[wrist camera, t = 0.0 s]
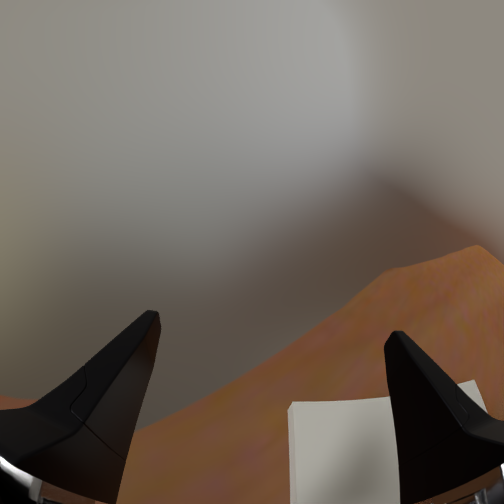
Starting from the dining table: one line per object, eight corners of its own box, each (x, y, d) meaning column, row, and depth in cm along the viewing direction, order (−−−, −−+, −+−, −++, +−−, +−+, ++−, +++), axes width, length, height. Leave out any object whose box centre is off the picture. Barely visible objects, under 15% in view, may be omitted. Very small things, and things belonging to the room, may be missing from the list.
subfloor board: (489, 463, 13) (501, 456, 12) (290, 527, 12) (297, 527, 11) (465, 388, 23) (474, 379, 22) (287, 410, 22) (292, 401, 21)
